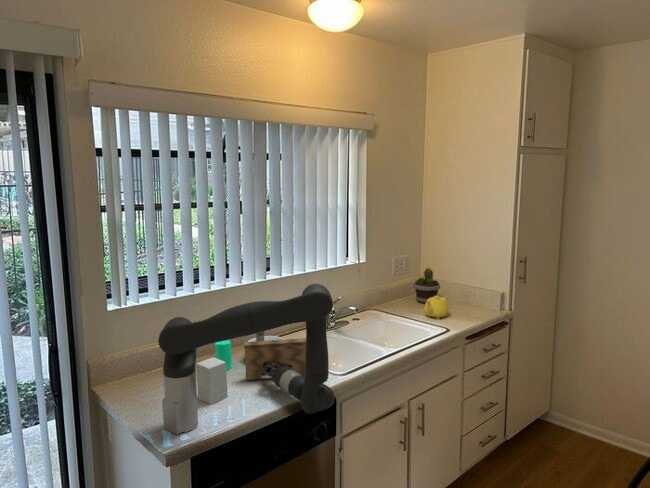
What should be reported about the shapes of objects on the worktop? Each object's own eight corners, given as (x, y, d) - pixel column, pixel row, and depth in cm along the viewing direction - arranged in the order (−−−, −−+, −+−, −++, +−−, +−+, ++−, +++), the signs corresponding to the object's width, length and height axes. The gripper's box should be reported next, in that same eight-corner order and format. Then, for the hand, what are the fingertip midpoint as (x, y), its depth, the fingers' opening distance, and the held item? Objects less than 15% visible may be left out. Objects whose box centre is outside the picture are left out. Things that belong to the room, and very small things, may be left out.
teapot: (435, 323, 249) (436, 302, 247) (416, 318, 257) (417, 297, 255) (454, 314, 262) (454, 294, 260) (435, 310, 270) (436, 291, 268)
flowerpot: (434, 306, 276) (436, 271, 273) (408, 302, 284) (409, 268, 281) (443, 300, 289) (444, 266, 285) (418, 296, 297) (419, 263, 293)
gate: (307, 371, 191) (307, 338, 188) (309, 375, 187) (309, 341, 185) (245, 376, 187) (244, 342, 185) (245, 380, 183) (244, 345, 181)
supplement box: (228, 397, 172) (227, 362, 170) (210, 405, 167) (208, 368, 164) (215, 390, 177) (213, 356, 175) (197, 398, 171) (195, 362, 169)
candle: (228, 371, 193) (227, 341, 191) (213, 370, 194) (212, 340, 192) (234, 365, 199) (233, 336, 197) (219, 364, 200) (218, 335, 198)
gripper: (306, 365, 173) (280, 350, 187) (272, 375, 165) (248, 358, 179) (306, 386, 174) (281, 369, 188) (272, 396, 166) (248, 378, 180)
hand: (265, 364), depth 183 cm, fingers closed
